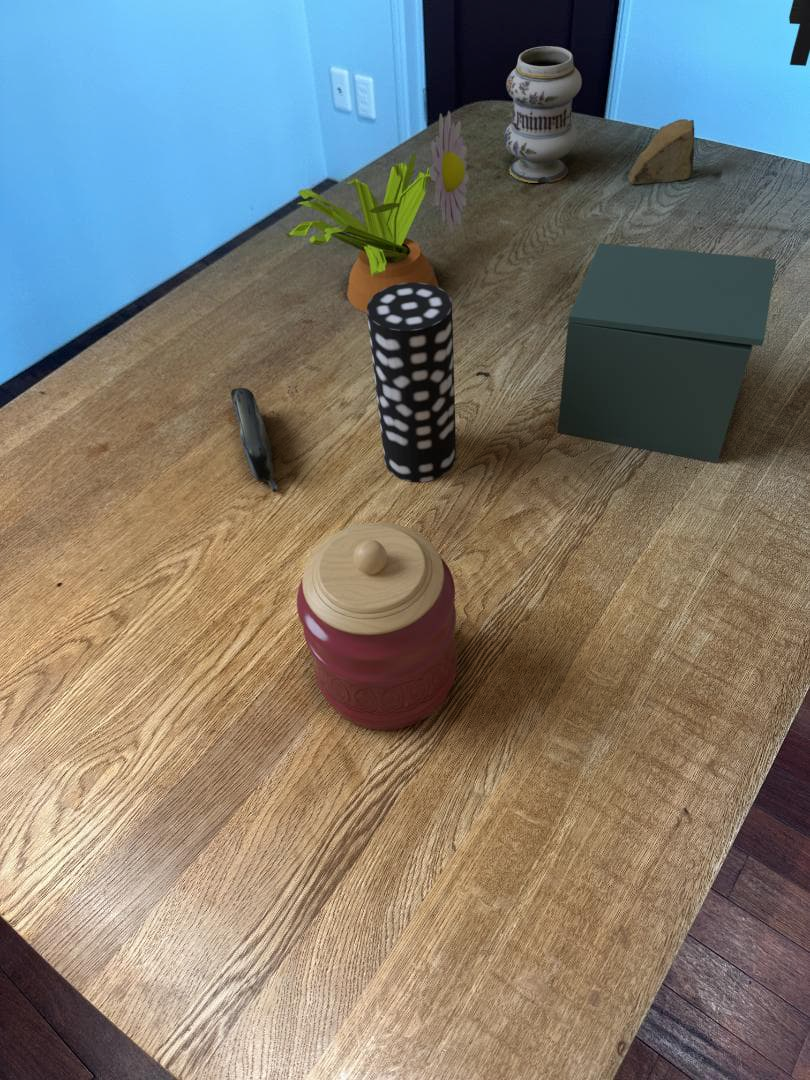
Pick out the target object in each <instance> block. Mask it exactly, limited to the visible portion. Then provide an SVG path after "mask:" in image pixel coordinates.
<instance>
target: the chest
mask: <svg viewBox="0 0 810 1080" xmlns="http://www.w3.org/2000/svg"><path fill="white" fill-rule="evenodd" d="M565 339H566V340H565V351H564V359H563V360H564V361H563V371H562V380H561V392H560V402H559V412H558V422H557V430H556V431H557V433H558V434H562V435H568V436H572V437H579V438H583V439H588V440H593V441H598V442H599V441H600V442H604V443H609V444H614V445H618V446H619V445H620V446H625V447H630V448H636V449H640V450H641V449H642V450H645V451H646V450H647V451H651V452H657V453H662V454H667V455H673V456H678V457H682V458H687V459H694V460H698V461H704V462H709V463H714V464H717V463H719V458H720V455H721V452H722V449H723V445H724V443H725V439H726V436H727V433H728V429H729V426H730V422H731V420H732V416H733V412H734V410H735V406H736V403H737V399H738V396H739V393H740V390H741V387H742V383H743V380H744V377H745V375H746V371H747V366H748V364H749V360H750V357H751V354H752V349H753V345H748V344H740V343H732V342H724V341H716V340H708V339H700V338H692V337H683V336H675V335H667V334H659V333H651V332H643V331H635V330H627V329H619V328H611V327H602V326H594V325H586V324H578V323H570V322H567V329H566V338H565Z"/></svg>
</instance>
